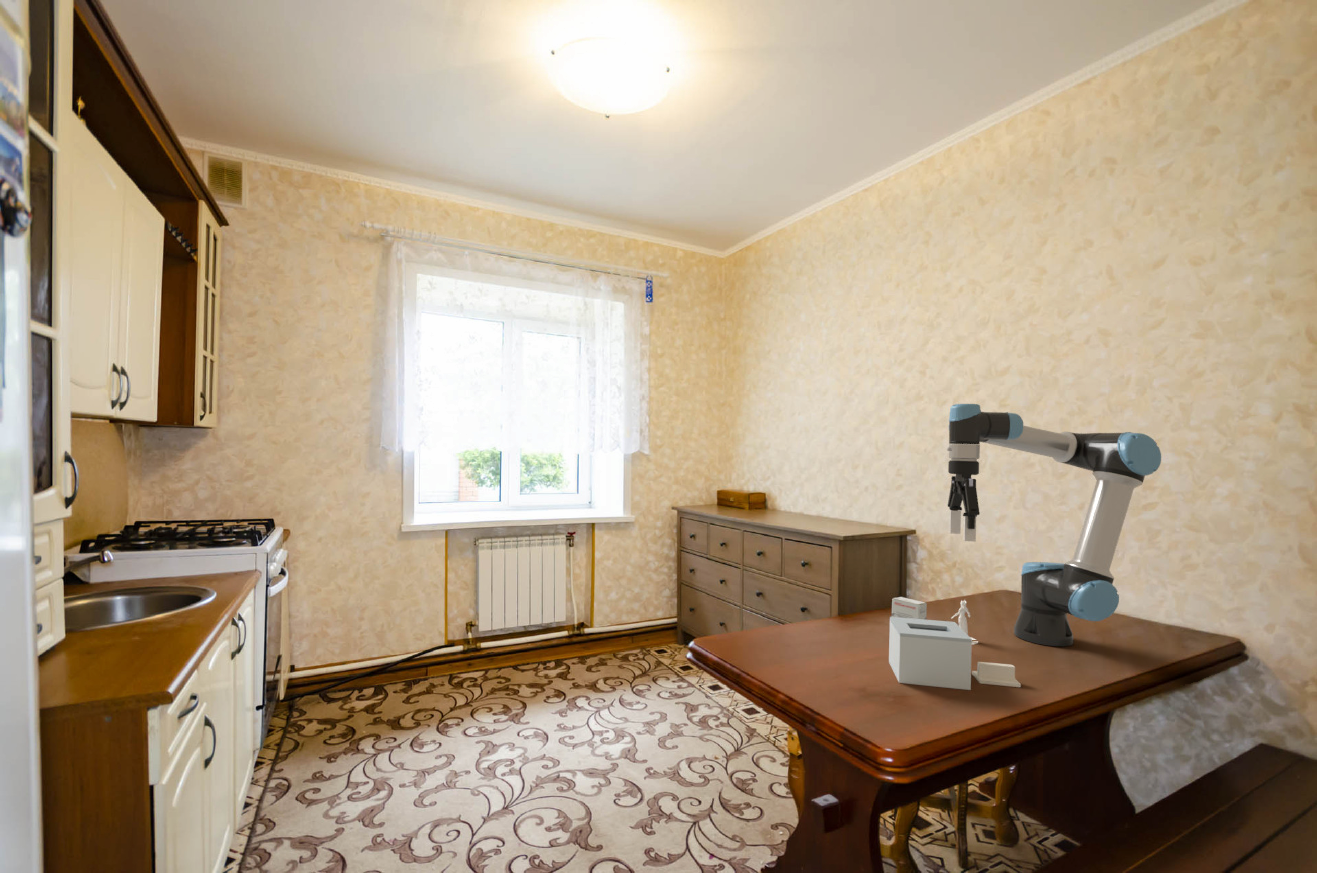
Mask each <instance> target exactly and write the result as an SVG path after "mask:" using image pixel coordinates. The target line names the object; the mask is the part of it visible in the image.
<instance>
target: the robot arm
mask: <svg viewBox="0 0 1317 873" xmlns="http://www.w3.org/2000/svg"><path fill="white" fill-rule="evenodd" d="M948 431H949V432H948V433H949V438H948V447H946V451H948V458H949V459H950V460H949V461H948V467H947V468H948V471H947V472H948V474H950V475H952V476H951V478H950V480H951V484H950V489H949V495H948V502H947V507H948V509H949V534H956V535H957V534H958V535H961V528H962V527H961V524H962V516H963V541H964V542H975V543H976V542H977V516H979V515H980V506H979V498H978V492H977V491H978V490H977V479H976V478H972V476H977V475H979V473H980V462H979V460H980V458H981V456H980V454H981V453H980V452H981V451H980V449H981V446H980V445H981V444H980V443H985V444H989V445H993V446H999V447H1002V448H1008V449H1013V450H1017V451H1020V452H1025V453H1030V454H1033V455H1034V454H1035V455H1040V456H1043V457H1049V458H1052V459H1053V461H1055V462H1056V463H1061V464H1065V465H1068V466H1073V467H1076V468H1079V469H1080V468H1081V469H1083V470H1086V471H1090V472H1092V475H1093V476H1094V478H1095V479H1096V482H1095V485H1094V489H1093V492H1092V495H1091V498H1090V502H1089V505H1088V508H1087V512H1086V516H1085V517H1084V521H1083V525H1082V529H1081V531H1080V535H1079V538H1078V542H1077V545H1076V548H1075V551H1074V554H1073V558H1072V559H1071V560H1069V561H1066V562H1065V563H1061V562H1048V561H1047V562H1046V561H1043V562H1042V561H1029V562H1028V561H1027V562H1025V563H1023V564H1022V567H1021V568H1022V569H1021V574H1020V576H1021V589H1020V590H1021V593H1020V595H1021V598H1020V600H1021V602H1020V603H1021V606H1020V610H1019V611H1020V612H1019V614H1018V616H1017V618H1016V621H1015V624H1014V627H1013V634H1014V635H1015V636H1016V637H1018V638H1019V639H1021V640H1024V641H1027V642H1030V643H1033V644H1038V645H1042V646H1043V645H1044V646H1050V647H1051V646H1052V647H1070V646H1072V645H1073V644H1074V635H1073V634H1074V633H1073V632H1072V629H1071V626H1070V622H1069V620H1068V616H1067V615H1068V614H1069V615H1071V616H1074V617H1075V618H1077V619H1080V620H1085V621H1089V622H1101V621H1103V620H1105V619H1107V618H1109V617H1111V616H1112V615H1113V614H1114V613H1115V612H1116V610H1117V608H1118V606H1119V603H1120V594H1119V593H1118V590H1117V588H1116V587H1115V585H1113V583H1114V580H1115V577H1114V576H1113V574H1112V572H1111V570H1110V569H1111V566H1112V564H1113V563H1112V562H1113V560H1114V556H1115V553H1116V549H1117V546H1118V543H1119V540H1120V539H1119V538H1120V536H1121V533H1122V529H1123V526H1124V523H1125V519H1126V516H1127V513H1128V510H1129V506H1130V503H1131V499H1132V496H1133V493H1134V490H1135V489H1136V488H1138V487H1140V486H1142V485H1143V484H1144V480H1145V476H1147V477H1148V476H1149V475H1152V474H1153V473H1154V472H1157V470H1158V469H1159V468H1160V466H1161V464H1162V453H1161V449H1160V447H1159V446H1158V444H1157V442H1156V440H1154V438H1152V437H1151V436H1150V435H1148V434H1145V433H1141V432H1131V431H1126V432H1094V433H1093V432H1092V433H1089V432H1087V433H1082V432H1081V433H1079V432H1070V431H1062V432H1056V431H1055V432H1054V431H1050V430H1046V429H1041V428H1036V427H1032V426H1026V425H1024V420H1023V418H1022V417H1021V416H1020V414H1018V413H1015V412H1008V411H1007V412H1005V411H1004V412H997V411H996V412H995V411H993V412H991V411H989V412H985V411H982V410H981V405H980V404H978V403H955V404H953V405H952V406H950V410H949V419H948ZM962 503H963V504H962ZM962 505H963V507H962ZM963 508H964V512H963V514H962V511H963Z"/></svg>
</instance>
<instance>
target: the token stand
mask: <svg viewBox="0 0 1317 873" xmlns="http://www.w3.org/2000/svg"><path fill="white" fill-rule="evenodd" d="M976 666H977V667H976V669H977V670H971V675H972V676H973V677H974V679H976V680H977V682H978V683H979V684H982V685H983V684H984V685H994V686H1001V687H1002V686H1004V687H1013V688H1015V687H1016V688H1021V686H1022V685H1021V683H1020V682H1019V681H1018V680H1017V679H1016V667H1015V665H1013V664H1008V663H997V662H987V661H986V662H985V661H977V665H976Z"/></svg>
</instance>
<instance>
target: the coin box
mask: <svg viewBox="0 0 1317 873" xmlns="http://www.w3.org/2000/svg"><path fill="white" fill-rule="evenodd" d="M970 637H971V636H969V634H968V635H967V634H966V633H965V632H964V631H963V630H962V629H961V628H960V627H959V624H958V623H957V622H955V621H949V620H945V621H944V620H933V619H926V620H924V619H912V618H899V617H892V616H889V636H888V638H889V641H888V642H889V643H888V644H889V645H888V664H889V665H890V668H891V670H892V671H893V674H894V675H895V677H896V680H897V681H898V683H899V684H908V685H916V686H917V685H918V686H926V687H927V686H928V687H935V688H936V687H938V688H948V689H956V690H957V689H958V690H965V691H966V690H968V691H971V690H972V689H971V688H972V686H971V684H972V653H973V652H972V650H973V649H972V648H973V644H972V639H971V638H972V637H971V638H970Z"/></svg>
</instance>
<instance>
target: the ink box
mask: <svg viewBox="0 0 1317 873" xmlns="http://www.w3.org/2000/svg"><path fill="white" fill-rule="evenodd" d="M891 600H892V601H891V617H899V618H912V619H924V620H927V608H928V607H927V606H928V605H927V602H924V601H920V600H916V599H912V598H907V597H904V596H899V597H893V598H892V599H891Z"/></svg>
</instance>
